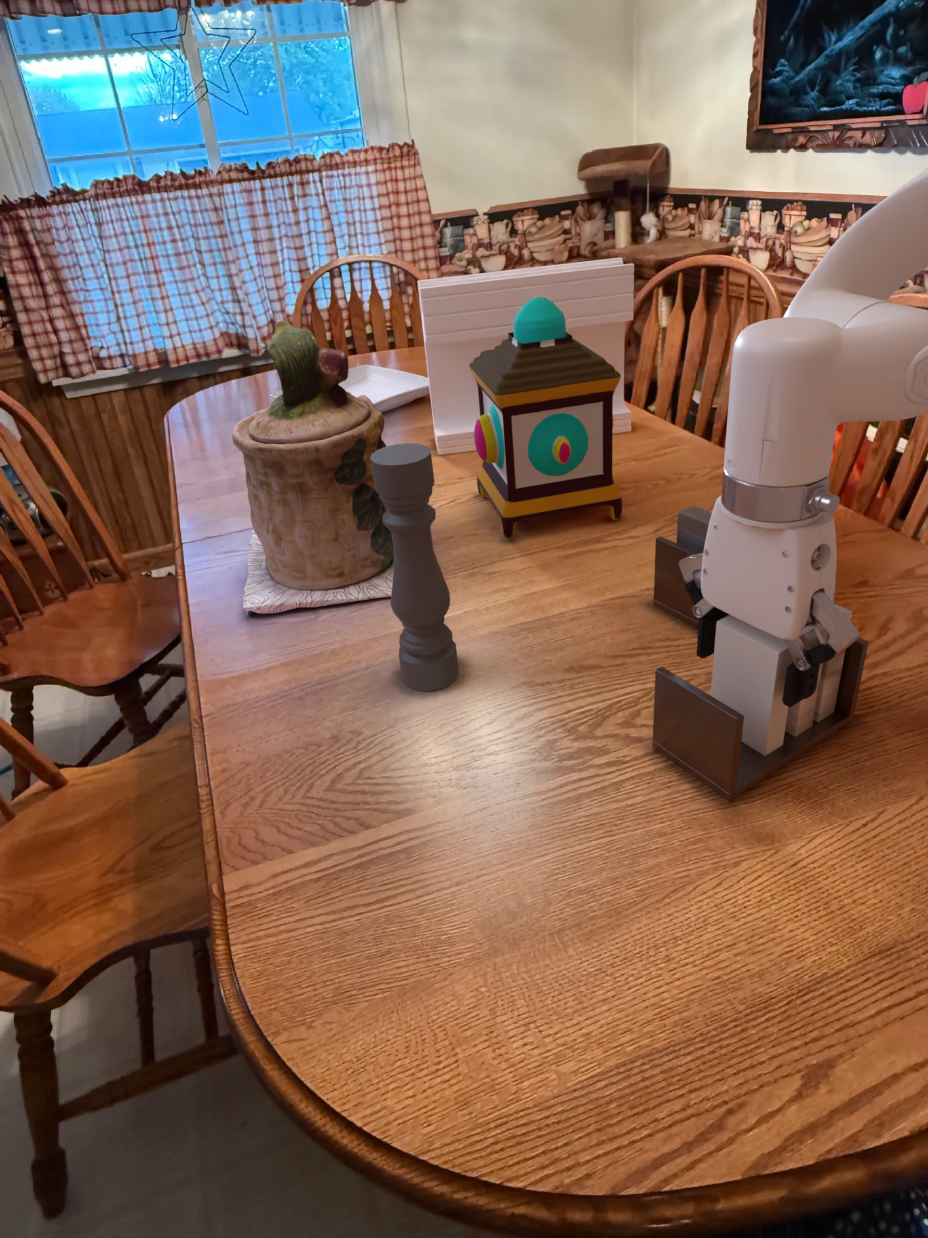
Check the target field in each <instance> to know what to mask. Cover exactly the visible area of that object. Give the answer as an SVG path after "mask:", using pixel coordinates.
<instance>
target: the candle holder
mask: <svg viewBox="0 0 928 1238" xmlns="http://www.w3.org/2000/svg"><path fill="white" fill-rule="evenodd" d="M432 457H433V456H432V449H431V448H430V447H429V446H427V445H425V444H421V443H410V442H408V443H407V442H406V443H396V444H391V445H388V446H387V445H386V447H384V448H381V449H379V450H376V451H375V452H374V453H373V454H371V457H370V461H371V467H372V474H373V480H374V486H375V491H376V492H377V493H378V494H379V498H380V499H381V501H382V502H383V503H384V505H385V507H386V508H387V509H388V510H387V511H386V512H385V513H384V514H383V517H382V521H383V524H384V525H385V526H386V527H387V528H388V529H389V530H390V531H391V534H392V540H393V547H394V553H395V563H394V574H393V584H392V594H391V597H390V607H391V610H392V613H393V614H394V615H395V616H396V618H397V619H398V620H399V621H400V622H401V626H402V627H403V630H402V632H401V633H400V634H399V641H398V644H399V648H398V659H399V667H400V673H401V678H402V682H403V683H404V685H405V686H406V687H408V688H410V689H412V690H413V691H419V692H420V691H421V692H434V691H435V692H436V691H439V690H441V689H444V688H447V687H449V686H451V685H453V683H455V682H456V680H457V679H458V677H459V674H460V672H459V671H460V668H459V659H458V652H457V644H456V642H455V641H454V640H453V631H452V630H451V628H450V627H449V626H448V625H446V624H445V616H446V615H447V614H448V611H449V609H450V605H451V595H450V593H451V592H450V589H449V587H448V585H447V582H446V580H445V579H446V578H445V577H444V575H443V572H442V569H441V566H440V564H439V561H438V559H437V556H436V554H435V551H434V546H433V545H434V544H433V538H432V537H433V536H432V529H431V526H432V524H433V523H434V521H435V520H436V518H437V517H436V514H437V512H436V509H435V508H434V507H433V506H432V505H430V504H429V503H430V498H431V496H432V495H433V487H434V486H435V475H434V467H433V465H434V464H433V458H432Z"/></svg>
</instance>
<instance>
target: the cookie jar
mask: <svg viewBox="0 0 928 1238" xmlns="http://www.w3.org/2000/svg"><path fill="white" fill-rule="evenodd" d="M266 351H267V355H268V356H269V357H270V358H271V360H272V361H273V363H274V367H275V369H276V371H277V375H278V377H279V381H280V388H281V390H282V392H283V394H282V395H280V396H278V397H277V398H276V399H275V400H274V399H273V401H272V402H271V404H270V406H268V407H266V408H263V409H260V410H258V411H256V412H254V413H252V414H250V415H249V416H247V417H245V418H242V419H241V420H239V421H238V422H237V423H236V424H235V426H233V431H232V432H231V434H232V435H231V438H232V444H233V445H234V446H235V447H236V448H237V449H238V450H239V451H241V453H242V456H243V463H244V468H245V483H246V488H247V499H248V503H249V507H250V512H249V513H250V521H251V526H252V531H251V538H250V539H249V545H248V546H249V547H250V549H249V550H248V552H247V561H246V562H247V566H248V568H247V573H248V575H247V576H246V581H245V586H244V588H243V592H244V594H243V595H241V597H242V607H243V610H244V611H245V612H246V614H247V615H249V612H253V613H256V614H277V613H282V612H285V611H290V610H294V609H297V608H318V607H325V606H331V605H339V604H345V603H351V602H353V603H354V602H358V601H366V600H373V599H380V598H391V594H392V584H393V574H394V563H395V553H394V547H393V540H392V534H391V531H390V530H389V529H388V528H387V527H386V526H385V525H384V524H383V521H382V517H383V514H384V513H385V512H386V511H387V510H388V509H387V508H386V507H385V505H384V503H383V502H382V501H381V499H380V498H379V494H378V493H377V492H376V491H375V486H374V480H373V474H372V467H371V461H370V457H371V454H373V453H374V452H375V451H376V450H379V449H381V448H384V447H387V444H386V443H385V441H384V440H383V439H382V435H383V432H384V429H385V423H386V422H385V417H384V415H383V412H382V413H381V412H380V411H379V410H378V409H377V408H376V407H375V406H374V405H373V403H372V402H371V400H370V399H369V398H368V397H367V396H365V395H363V394H362V395H360V396H359V397H355V396H353V395H351V393H349V392H347V391H346V390H345V389H343V388H342V387H341V386H340V385H339V383H341V382H343V381H345V380H346V379H347V378H348V369H349V358H348V355H347V354H346V353H345V352H344V351H343V350H340V349H335V348H327V347H326V348H325V347H320V346H319V343H318V340H317V338H316V337H315V335H314V333H313V331H311V330H310V329H304V328H300V327H298V326H295V325H293V324H291V323H289V322H288V321H285V320H283V319H277V321H276V322H275V324H274V331H273V336H272V338H271V339H270V341H269V343H268V345H267V346H266Z"/></svg>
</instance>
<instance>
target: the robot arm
mask: <svg viewBox="0 0 928 1238" xmlns="http://www.w3.org/2000/svg"><path fill="white" fill-rule="evenodd" d="M927 268H928V167H927V168H925V169H924V170H922V171H921V172H919V173H918V174H917V175H915V176H914V177H913V178H911V179H910V180H908V181H907V182H906V183H904V184H903V185H902V186H900V187H899V188H898V189H897V190H894V191H893V192H892V193H891V194H889V195H888V196H887V197H886V198H885V197H884V199H882V200H880V202H879V203H877V204H876V205H874V206H873V207H872V208H871V209H869V210H868V211H867V212H865V213H864V214H863V215H862V216H860V217H859V218H858V219H857V220H856V221H855V222H853V223H852V225H850V226H849V227H848V228H847V229H846V230H845V231H844V232H843V233H842V234H841V235H840V236H839V237H838V238H837V239H836V241H835V242H834V243H833V244H832V245H831V246H830V248H829V249H828V250H827V252H825V254H824V255H823V257H822V258H821V260H820V261H819V262H818V264H817V265H816V266H815V268H814V269H813V270H812V272H811V273H810V274H809V276H808V277H807V279H806V280H805V281H804V283H803V284H802V286H801V287H800V288H799V290H798V291H797V293H796V294H795V296H794V297H793V299H792V300H791V302H790V303H789V305H788V307H787V309H786V311H785V313H784V315H783V317H775V318H769V319H768V318H767V319H764V320H760V321H757V322H754V323H751V324H749V325H748V326H746V327H745V328H744V329H742V330H741V331H740V333H738V335H737V337H736V339H735V342H734V344H733V348H732V355H731V365H730V367H731V368H730V379H729V391H728V406H727V407H728V408H727V409H728V410H727V417H726V418H727V420H726V432H725V445H724V455H723V457H724V459H723V469H722V470H723V471H722V482H721V483H722V484H721V494H720V495H719V496H718V497H717V498H716V500H715V503H714V504H713V505H714V506H713V508H712V511H711V512H712V515H711V518H710V522H709V526H708V530H707V535H706V540H705V546H704V553H699V554H695V555H690V556H688V557H686V558H684V559H682V560H680V561H679V567H680V569H681V572H682V575H683V578H684V581H686V585H685V589H686V591H687V593H688V595H689V596H690V598H691V600H692V602H693V603H694V605H695V606H694V607H693V613H694V615H695V616H696V617H697V618H699V624H698V628H697V639H696V640H697V642H696V656H697V657H699V659H706V658H709V657H710V656H712V655H714V648H715V636H716V624H717V621H719V620H721V619H723V618H725V617H727V616H728V615H729V614H730V615H732V616H734V617H736V618H738V619H740V620H742V621H744V622H746V623H748V624H750V625H752V626H754V627H756V628H758V629H760V630H762V631H765V632H767V633H769V634H771V635H773V636H775V637H778V638H780V639H783V640H784V642H785V644H786V646H787V648H788V651H789V653H790V655H791V657H792V659H793V661H794V662H793V663H791V664H790V665H788V667H787V670H786V677H785V684H784V691H783V699H782V702H783V704H784V705H786V706H788V707H792V706H793V705H795V704H797V703H798V702H800V701H802V700H803V699H807V698H809V697H810V696H812V695H813V694H814V692H815V690H816V686H817V680H818V674H819V668H820V664H821V663H824V662H826V661H829V660H831V659H832V658H834V657H836V656H837V655H839V654H841V653H842V652H844V650H845V649H846V648H848V647H849V646H850V645H851V644H852V643H854V642H855V641H856V640H857V639H858V638H859V637H860V631H859V630H858V628H857V627H856V626H855V625H854V623H852V621H851V622H850V621H849V620H848V619H847V618H846V617H845V616H844V614H843V613H842V612H841V611H840V610H839V609H838V608H837V607H836V606H835V605H834V604H835V603H834V601H835V590H836V579H837V578H836V577H837V559H838V558H837V555H838V554H837V553H838V552H837V550H838V549H837V533H836V524H835V516H834V513H835V512H836V510H837V509H838V508H839V505H840V503H841V502H840V496H838V495H836V494H833V493H832V492H831V491H829V488H830V487H829V486H830V480H831V477H830V471H831V465H832V458H833V452H834V450H833V446H834V447H835V440H834V439H835V438H836V431H837V428H838V426H839V425H841V424H844V423H859V422H861V423H862V422H865V423H866V422H896V421H903V420H908V419H913V418H916V417H919V416H922V415H924V414H926V413H928V309H925V308H919V307H915V306H910V305H905V304H900V303H898V302H893V301H889V299H890V298H891V297H892V295H894V294H895V293H896V292H897V291H898V290H899V289H900V288H901V287H903V285H905V284H906V283H907V282H908V281H910V280H911V279H912V278H913V277H915V276H916V275H917V274H919V273H921V272H922V271H924V270H926V269H927ZM833 603H834V604H833ZM817 624H821V625H822V626H823V627H824V628H825V629H826V630H827V632H828V633H829V636H830V637H829V640H828V641H827V642H826V643H825V641H824V639H823V637H822V635H821V633H820V630H819V628H818V626H817ZM803 635H804V636H805V639H806V641H807V643H808V645H809V647H810V649H809V650H807V651H806V649H805V647H804V645H803V643H802V640H801V638H800V637H801V636H803Z"/></svg>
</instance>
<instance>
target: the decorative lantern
mask: <svg viewBox="0 0 928 1238" xmlns="http://www.w3.org/2000/svg"><path fill="white" fill-rule="evenodd" d="M469 368H470V371H471V373H472V375H473V376H474V378H475V380H476V382H477V386H478V396H479V408H480V417H479V418H478V419H477V421H476V424H475V428H474V442H475V447H476V450H475V451H476V452H477V454H478V457H480V459H481V461H482V464H481V466H480V468H479V471H478V474H477V477H476V485H477V491H478V494H479V496H480V497H481V498H483V499H484V498H487V499H488V500H489V502H490V503H491V505H492V506H493V508H494V510H495V511H496V513H497V514H498V516H499V518H500V521H501V527H502V533H503V536H504V538H505V539H507V540H510V539H511V540H512V538H513V537H514V529H515V525H516V523H518V522H520V521H523V520H525V521H526V520H531V519H535V518H543V517H548V516H553V515H559V514H565V513H571V512H575V511H582V510H588V509H592V508H599V507H605V506H608V508H609V516H610V518H611V519H612V520H613V521H618V520H620V519H621V517H622V513H623V499H622V496H621V493H620V491H619V489H618V487H617V485H616V483H615V481H614V476H613V434H612V431H613V394H614V391H615V389H616V387H617V385H618V383H619V381H620V378H621V375H620V373H619V372H617V371H616V370H615V368H614V367H613V366H612V365H611V364H609V363H608V362H606V360H605V359H604V358H602V357H601V356H599V355H598V354H596V353H595V352H593V351H592V350H590V349H589V348H587V347H586V346H584V345H583V344H581V343H579V342H578V341H576V340H575V339H573V338H572V336H571V335H570V334H568V333H567V332H566V325H565V318H564V314H563V313H562V311H561V310H560V309H559V308H558V307H557V306H556V305H555V304H554V303H553V302H551V301H550V300H548V299H546V298H544V297H536V298H533V299H531V300H529V301H528V302H527V303H525V304H524V305H523V307H522V308H521V309H520V311H519V312H518V313H517V315H516V316H515V319H514V332H512V333H508V339H505V340H503V341H502V343H501V345H498V346H496V347H495V349H493V350H486V351H483V352H481V353H480V356H478V357H475V358H474V360H473V362H471V363H470V364H469Z"/></svg>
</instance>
